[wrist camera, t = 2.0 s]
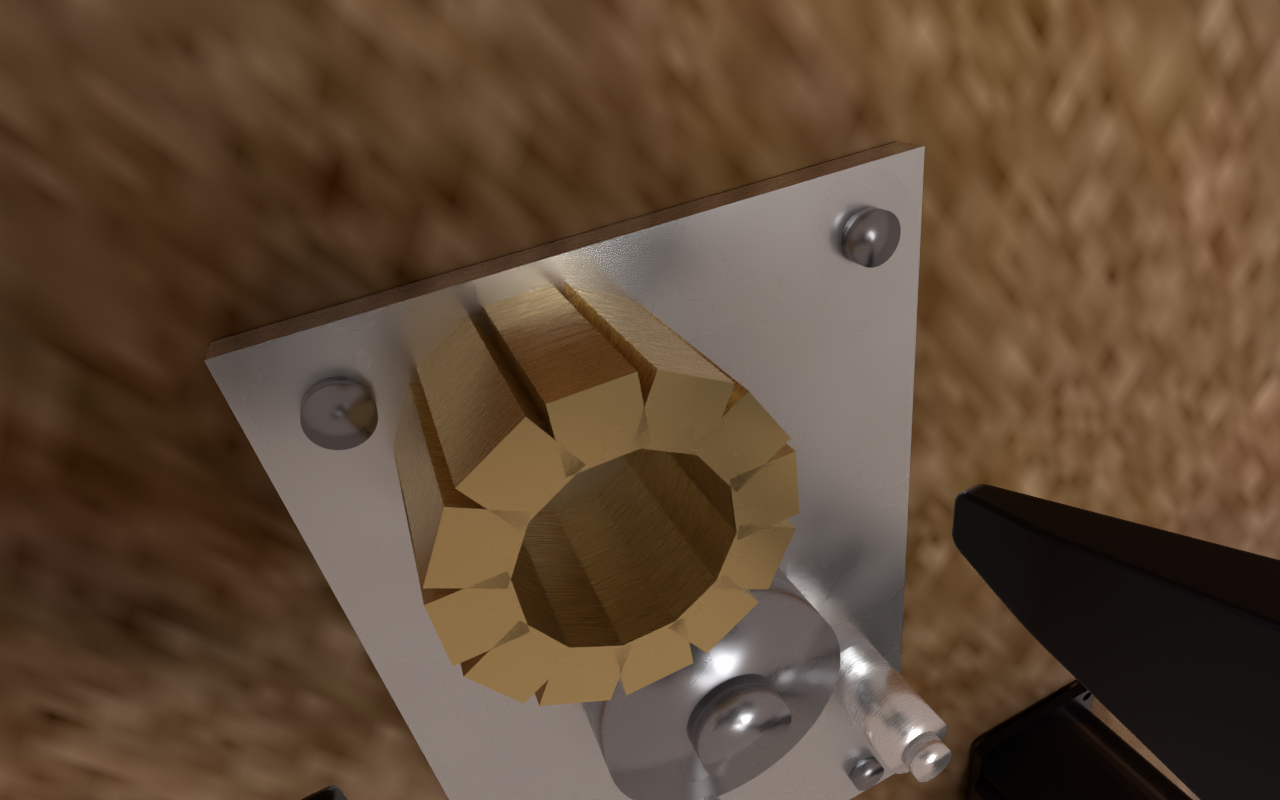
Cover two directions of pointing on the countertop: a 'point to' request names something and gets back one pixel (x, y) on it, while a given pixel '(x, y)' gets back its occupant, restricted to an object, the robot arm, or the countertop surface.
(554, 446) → the planet gear
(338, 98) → the countertop surface
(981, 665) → the countertop surface
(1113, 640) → the robot arm
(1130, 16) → the countertop surface
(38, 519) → the countertop surface
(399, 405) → the carrier plate
